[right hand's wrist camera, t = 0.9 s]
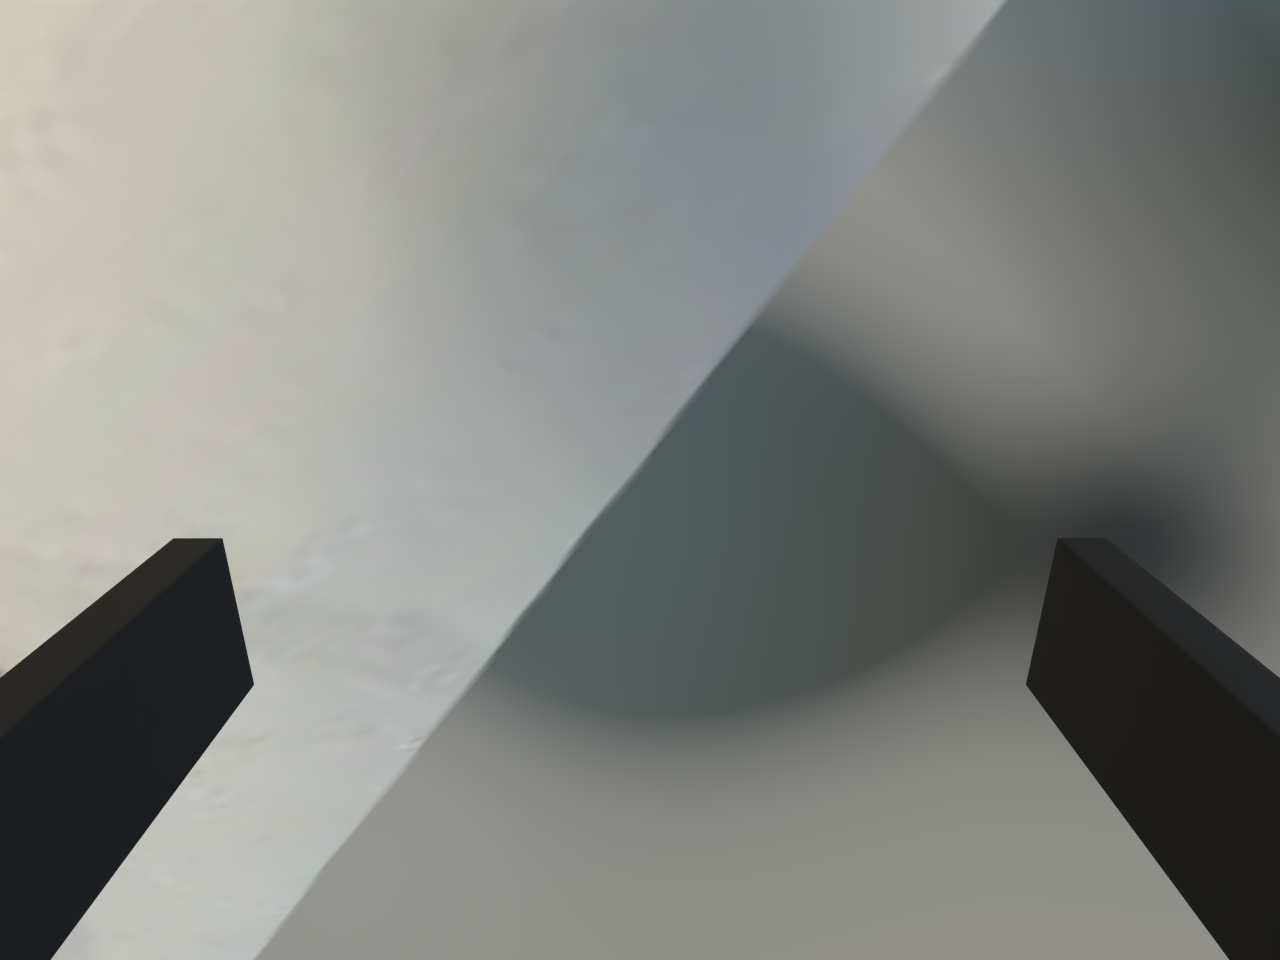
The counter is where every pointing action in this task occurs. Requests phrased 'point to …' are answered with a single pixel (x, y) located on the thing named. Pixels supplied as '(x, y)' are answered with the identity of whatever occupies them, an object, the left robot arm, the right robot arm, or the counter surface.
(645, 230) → the counter surface
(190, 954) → the counter surface
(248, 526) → the counter surface
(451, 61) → the counter surface
